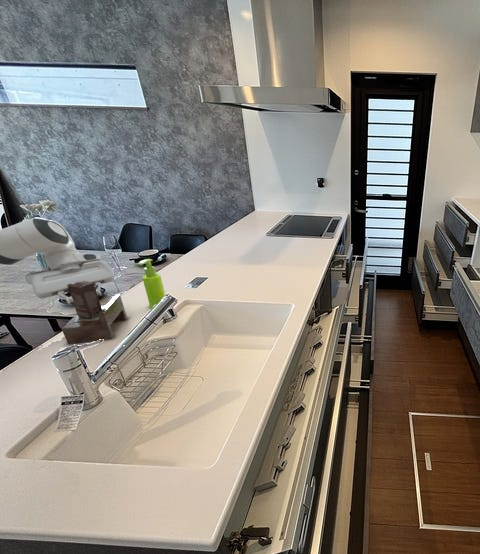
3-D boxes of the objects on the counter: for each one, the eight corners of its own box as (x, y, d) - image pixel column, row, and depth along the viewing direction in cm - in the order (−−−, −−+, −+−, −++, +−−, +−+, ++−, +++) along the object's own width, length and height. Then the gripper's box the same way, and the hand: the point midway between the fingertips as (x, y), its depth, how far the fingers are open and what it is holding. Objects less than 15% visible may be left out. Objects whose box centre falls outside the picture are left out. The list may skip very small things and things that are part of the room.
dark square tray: (67, 344, 99) (56, 318, 95) (88, 322, 111) (79, 298, 107) (112, 338, 103) (103, 313, 99) (127, 318, 115) (120, 294, 111)
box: (104, 313, 106) (94, 282, 101) (91, 320, 102) (79, 287, 97) (91, 310, 107) (80, 279, 102) (77, 317, 103) (65, 285, 98)
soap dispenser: (144, 308, 122) (131, 262, 114) (159, 300, 128) (147, 256, 120) (156, 310, 121) (144, 264, 113) (170, 303, 127) (160, 258, 119)
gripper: (21, 268, 93) (41, 306, 92) (104, 253, 108) (122, 285, 107) (24, 278, 97) (43, 314, 96) (103, 261, 112) (121, 293, 111)
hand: (85, 299), depth 102 cm, fingers open, 6 cm apart
